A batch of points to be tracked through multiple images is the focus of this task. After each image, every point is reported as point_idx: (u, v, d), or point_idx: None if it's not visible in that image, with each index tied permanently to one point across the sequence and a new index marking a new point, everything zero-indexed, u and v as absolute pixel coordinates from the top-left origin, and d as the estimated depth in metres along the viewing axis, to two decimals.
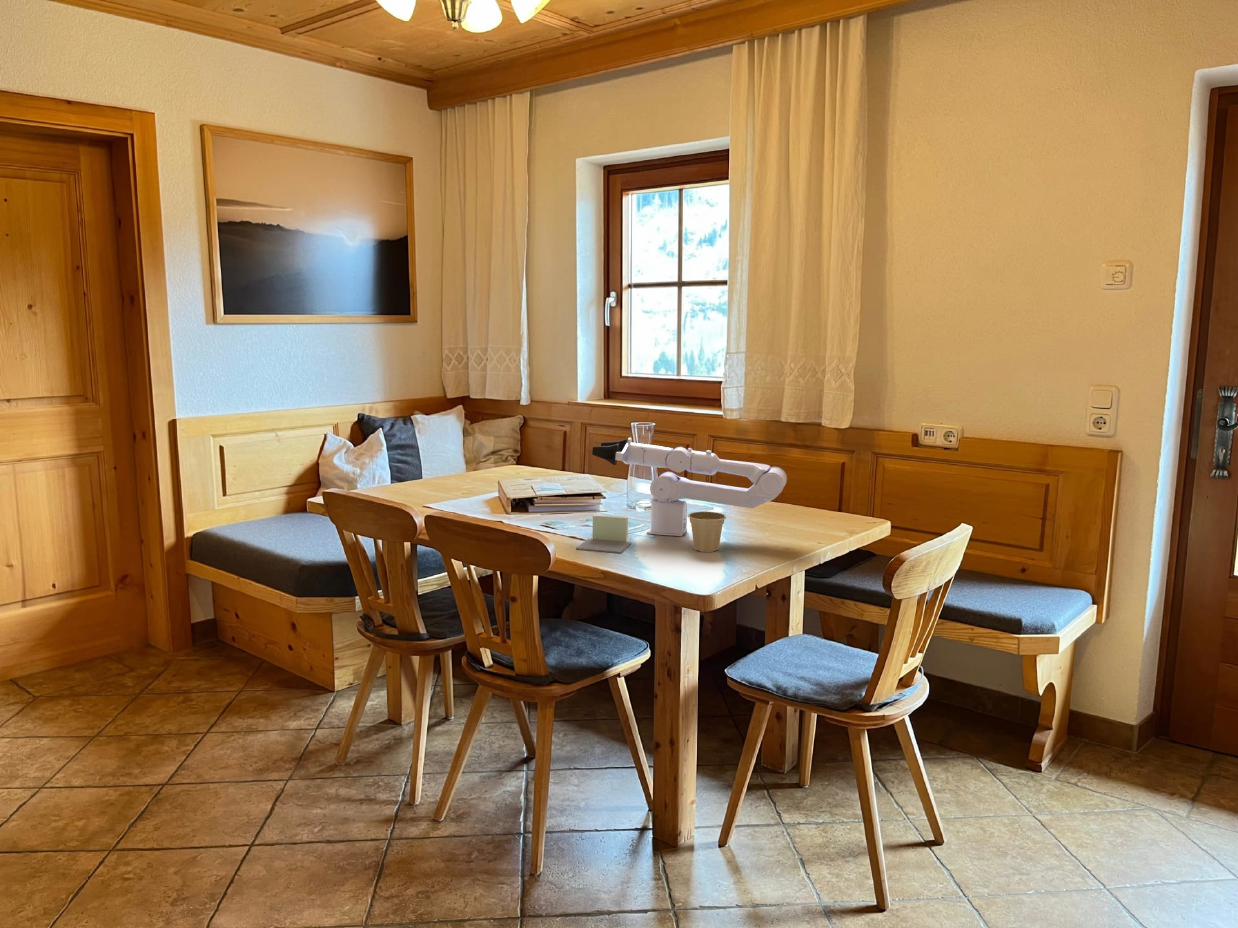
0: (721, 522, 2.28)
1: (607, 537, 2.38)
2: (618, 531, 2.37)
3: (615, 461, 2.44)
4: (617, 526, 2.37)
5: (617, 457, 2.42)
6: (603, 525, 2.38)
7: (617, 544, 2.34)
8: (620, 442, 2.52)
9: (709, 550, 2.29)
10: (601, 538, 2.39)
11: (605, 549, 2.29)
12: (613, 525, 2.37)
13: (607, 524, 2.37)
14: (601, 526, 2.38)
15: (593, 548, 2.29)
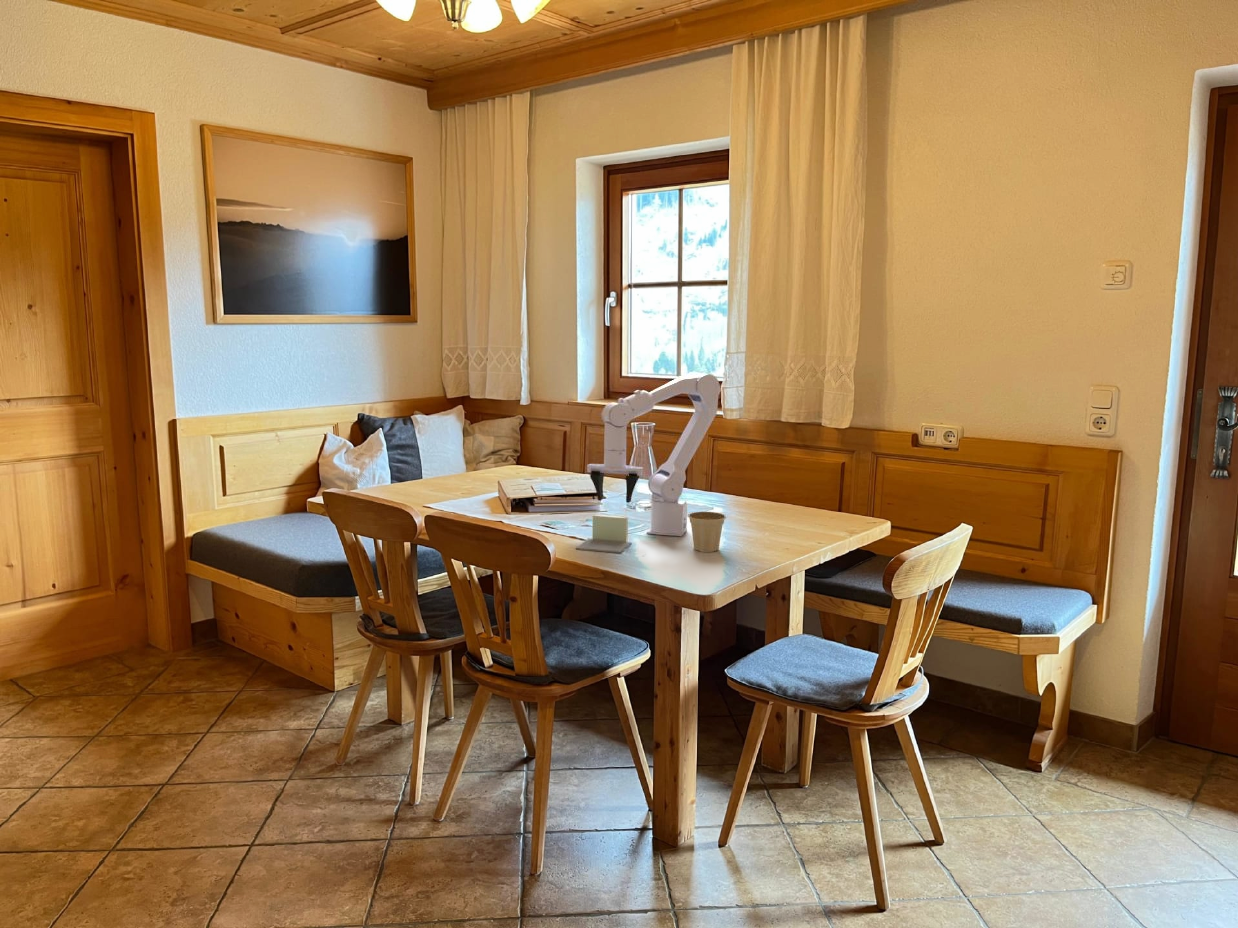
0: (721, 522, 2.28)
1: (607, 537, 2.38)
2: (618, 531, 2.37)
3: None
4: (617, 526, 2.37)
5: (642, 473, 2.39)
6: (603, 525, 2.38)
7: (617, 544, 2.34)
8: (599, 480, 2.41)
9: (709, 550, 2.29)
10: (601, 538, 2.39)
11: (605, 549, 2.29)
12: (613, 525, 2.37)
13: (607, 524, 2.37)
14: (601, 526, 2.38)
15: (593, 548, 2.29)
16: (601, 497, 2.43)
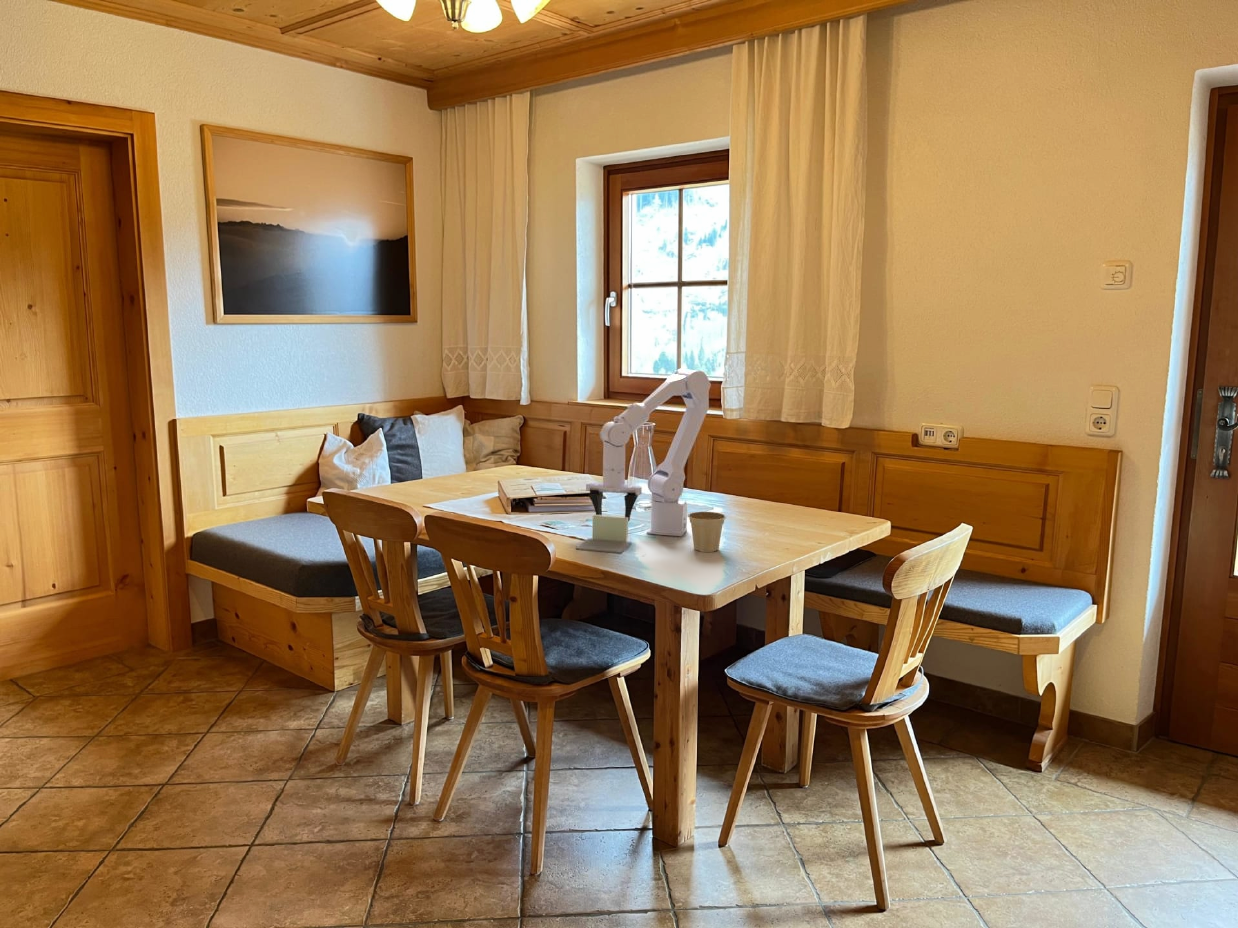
0: (721, 522, 2.28)
1: (607, 537, 2.38)
2: (618, 531, 2.37)
3: None
4: (617, 526, 2.37)
5: (640, 492, 2.39)
6: (603, 525, 2.38)
7: (617, 544, 2.34)
8: (597, 499, 2.41)
9: (709, 550, 2.29)
10: (601, 538, 2.39)
11: (605, 549, 2.29)
12: (613, 525, 2.37)
13: (607, 524, 2.37)
14: (601, 526, 2.38)
15: (593, 548, 2.29)
16: None
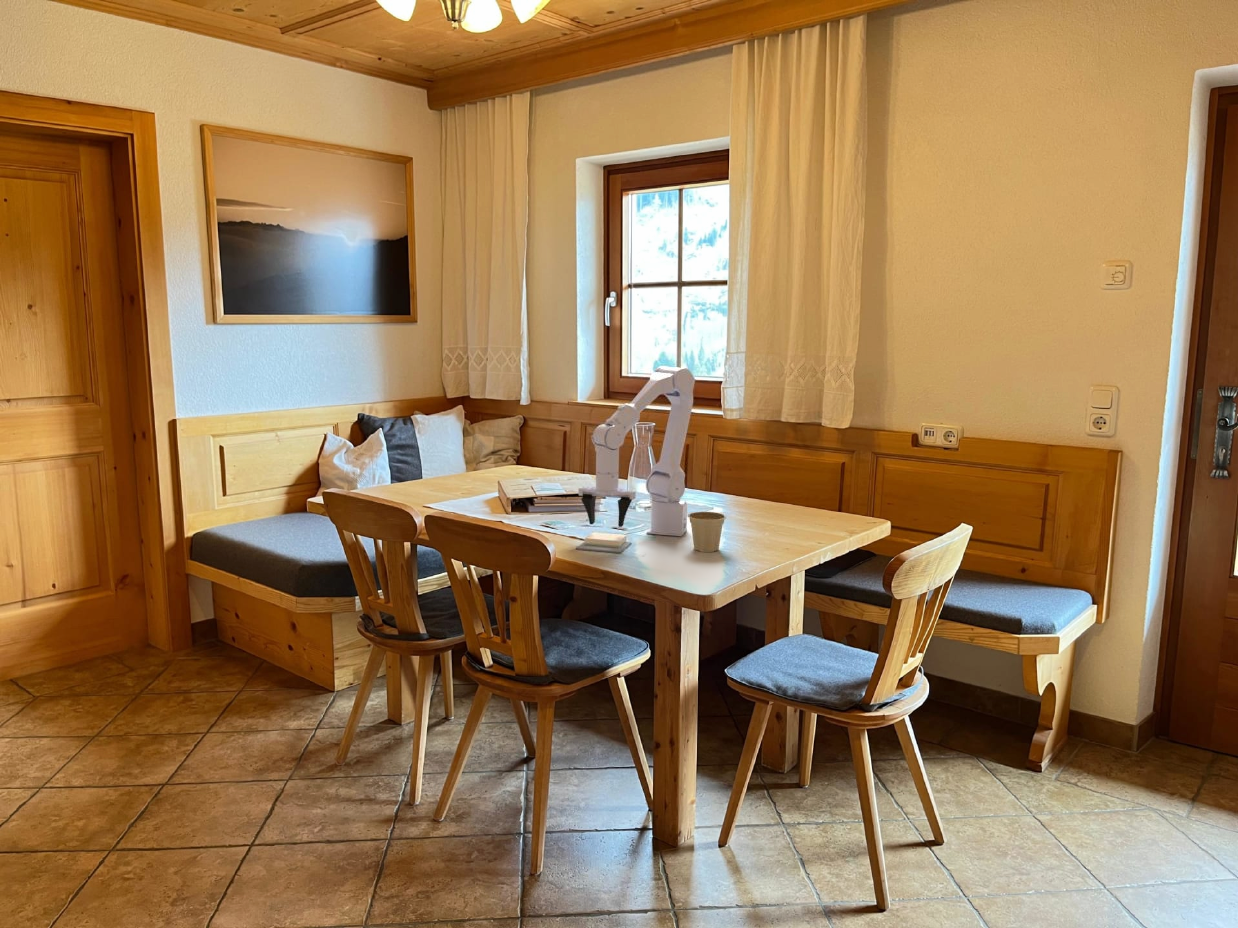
0: (721, 522, 2.28)
1: None
2: None
3: None
4: None
5: (634, 496, 2.34)
6: None
7: None
8: (590, 504, 2.35)
9: (709, 550, 2.29)
10: None
11: (605, 549, 2.29)
12: None
13: None
14: None
15: (593, 548, 2.29)
16: (593, 521, 2.37)
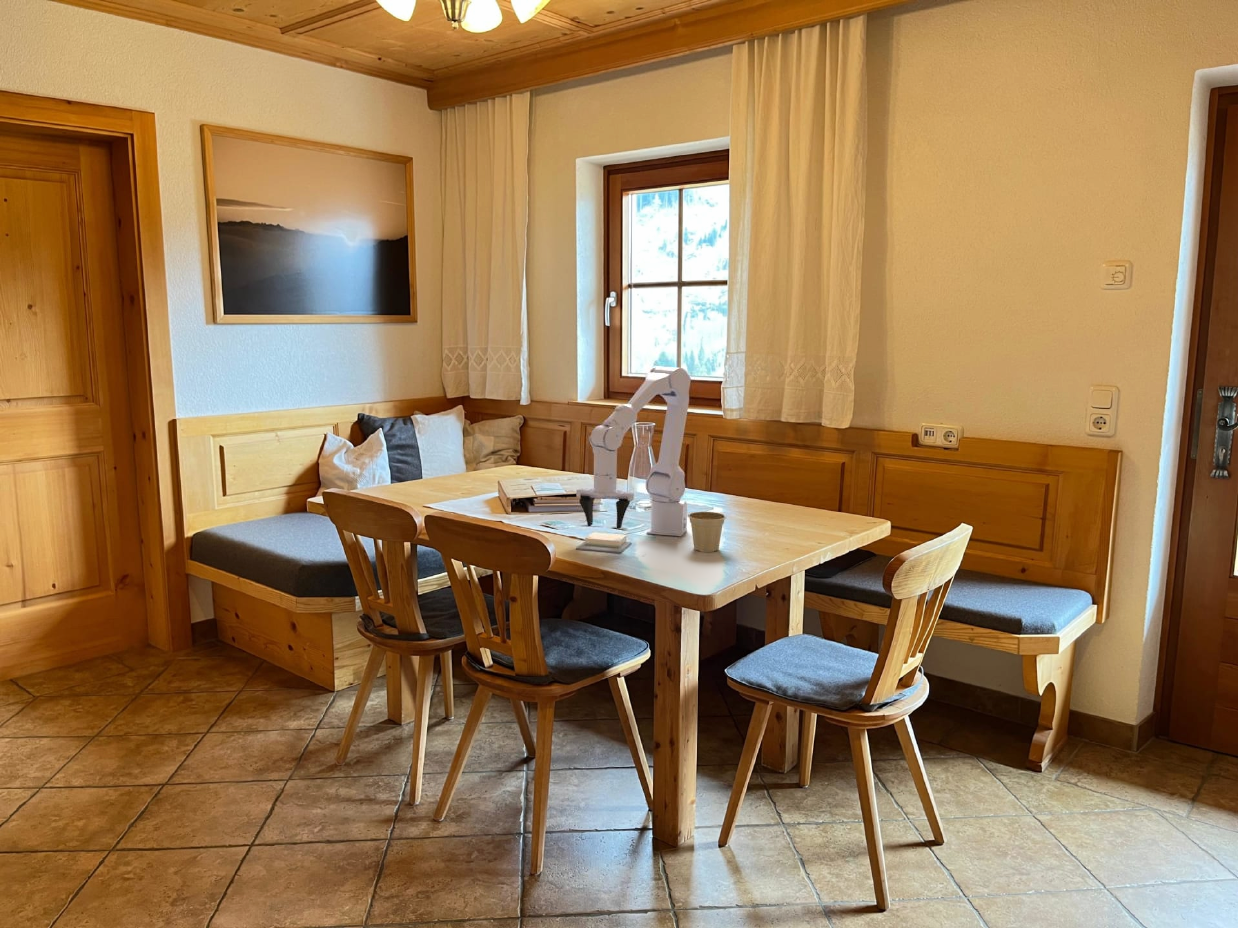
0: (721, 522, 2.28)
1: None
2: None
3: None
4: None
5: (633, 498, 2.32)
6: None
7: None
8: (588, 506, 2.33)
9: (709, 550, 2.29)
10: None
11: (605, 549, 2.29)
12: None
13: None
14: None
15: (593, 548, 2.29)
16: (591, 522, 2.36)
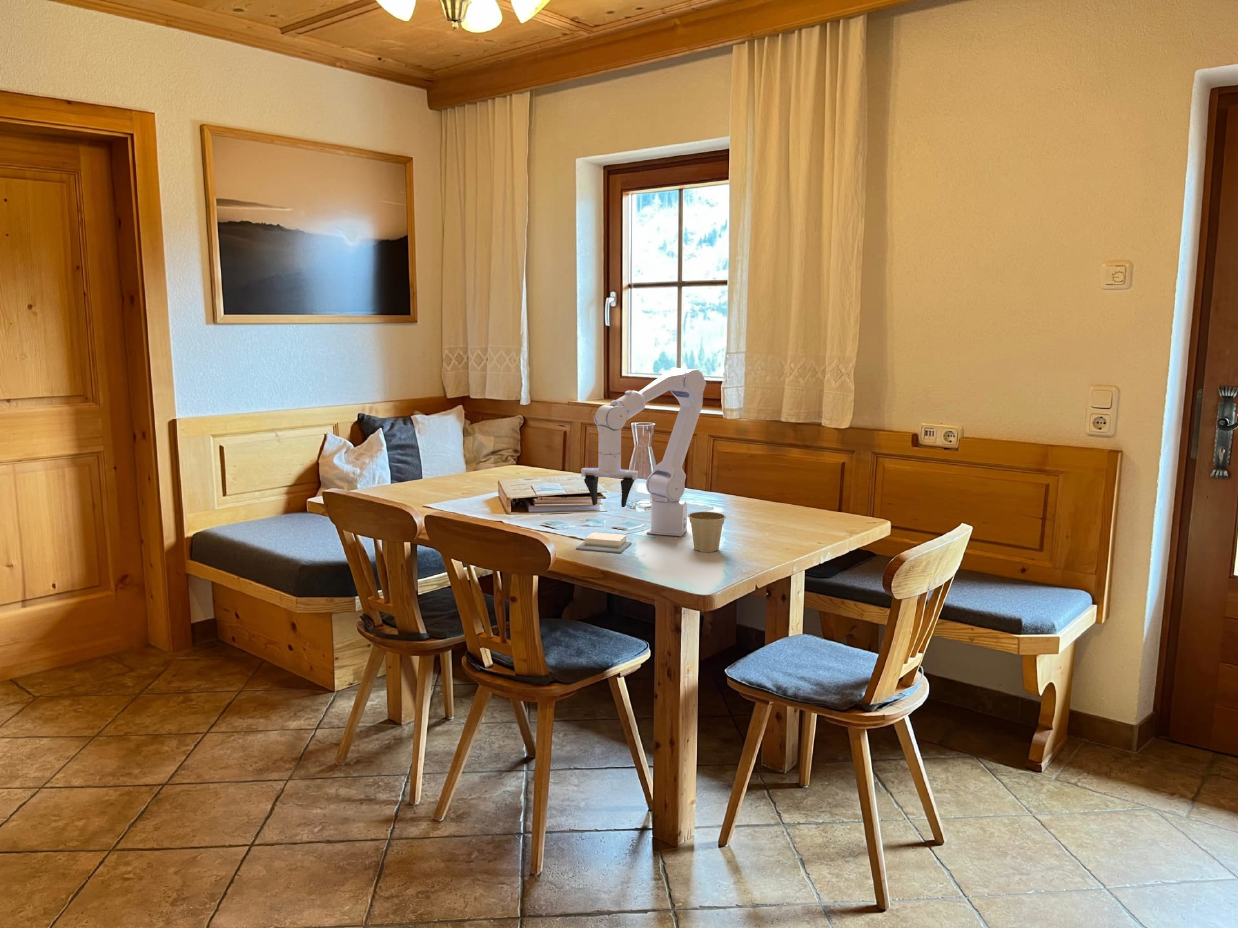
0: (721, 522, 2.28)
1: None
2: None
3: None
4: None
5: (637, 476, 2.34)
6: None
7: None
8: (593, 485, 2.36)
9: (709, 550, 2.29)
10: None
11: (605, 549, 2.29)
12: None
13: None
14: None
15: (593, 548, 2.29)
16: (596, 502, 2.38)
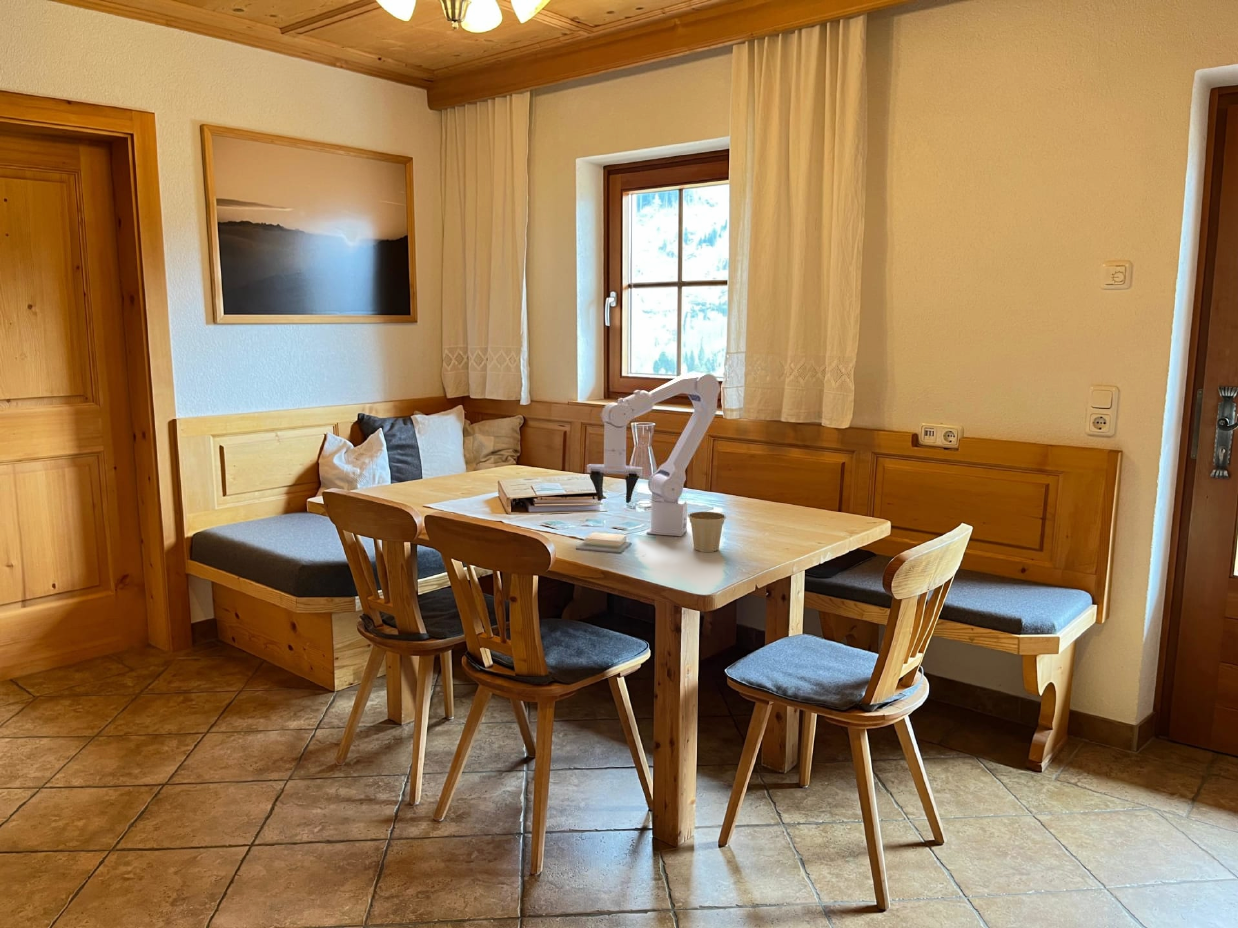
0: (721, 522, 2.28)
1: None
2: None
3: None
4: None
5: (641, 473, 2.39)
6: None
7: None
8: (598, 481, 2.41)
9: (709, 550, 2.29)
10: None
11: (605, 549, 2.29)
12: None
13: None
14: None
15: (593, 548, 2.29)
16: (601, 497, 2.43)
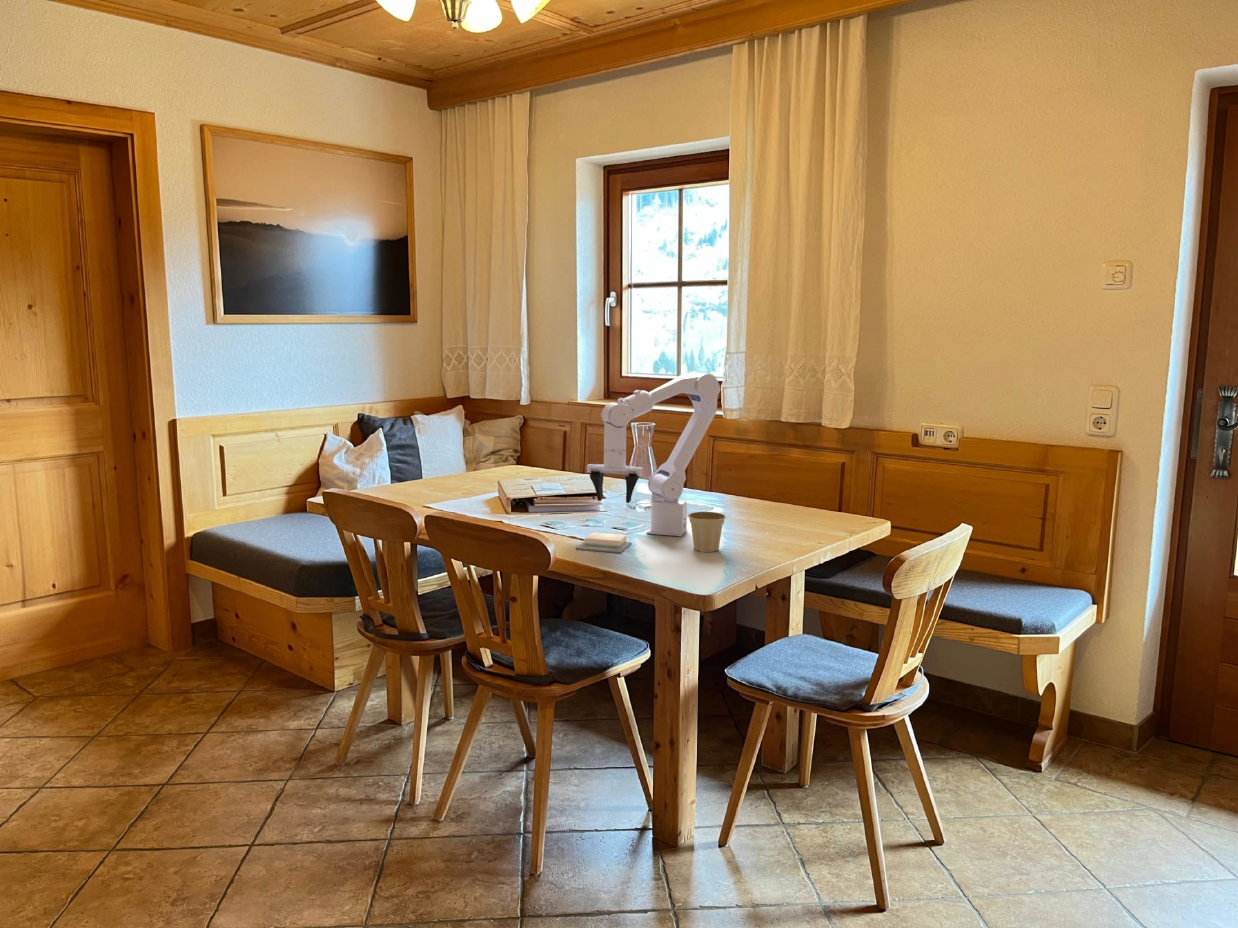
0: (721, 522, 2.28)
1: None
2: None
3: None
4: None
5: (641, 473, 2.39)
6: None
7: None
8: (598, 481, 2.41)
9: (709, 550, 2.29)
10: None
11: (605, 549, 2.29)
12: None
13: None
14: None
15: (593, 548, 2.29)
16: (601, 497, 2.43)
